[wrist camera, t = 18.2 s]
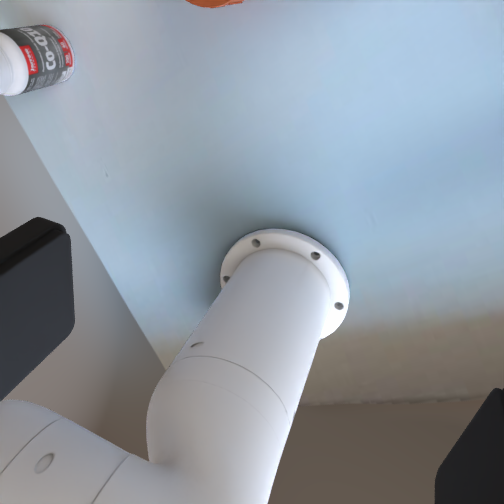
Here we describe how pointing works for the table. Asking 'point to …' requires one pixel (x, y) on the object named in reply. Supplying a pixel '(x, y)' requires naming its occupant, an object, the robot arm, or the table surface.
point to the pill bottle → (33, 59)
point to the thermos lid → (214, 3)
